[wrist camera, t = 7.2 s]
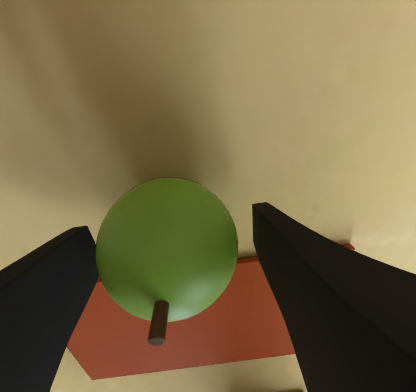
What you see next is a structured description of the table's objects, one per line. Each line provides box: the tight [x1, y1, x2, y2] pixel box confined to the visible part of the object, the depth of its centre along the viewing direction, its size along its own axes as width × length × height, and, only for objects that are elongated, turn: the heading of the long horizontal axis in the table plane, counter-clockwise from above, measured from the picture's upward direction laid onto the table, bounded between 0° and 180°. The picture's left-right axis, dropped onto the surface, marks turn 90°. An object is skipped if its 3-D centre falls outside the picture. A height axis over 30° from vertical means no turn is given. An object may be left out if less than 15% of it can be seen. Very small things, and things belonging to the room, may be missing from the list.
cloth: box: [67, 244, 355, 380], centre depth 15 cm, size 11×20×1 cm, turn 97°
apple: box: [96, 178, 238, 346], centre depth 8 cm, size 5×5×7 cm
